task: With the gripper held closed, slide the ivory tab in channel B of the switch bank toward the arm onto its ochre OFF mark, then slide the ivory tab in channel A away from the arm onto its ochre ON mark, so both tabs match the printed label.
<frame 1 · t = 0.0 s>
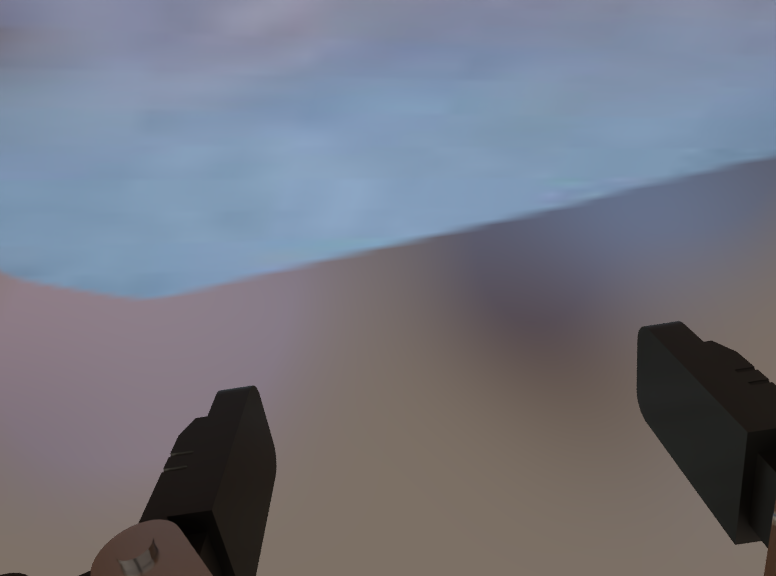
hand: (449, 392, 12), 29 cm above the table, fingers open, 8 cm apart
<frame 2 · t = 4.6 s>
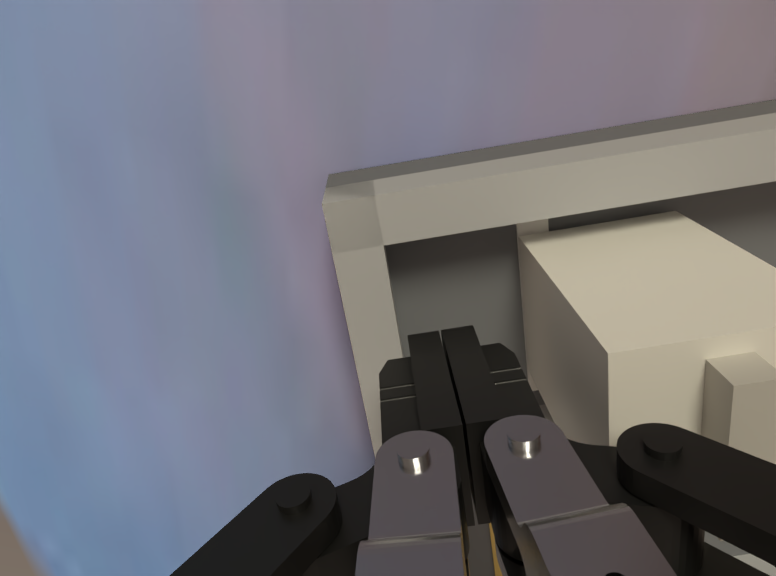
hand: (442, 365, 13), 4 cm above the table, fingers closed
switch bank: (686, 368, 19), on the table
tab B: (655, 358, 13), point 5 cm above the table, slide at 1.6 cm, touching gripper
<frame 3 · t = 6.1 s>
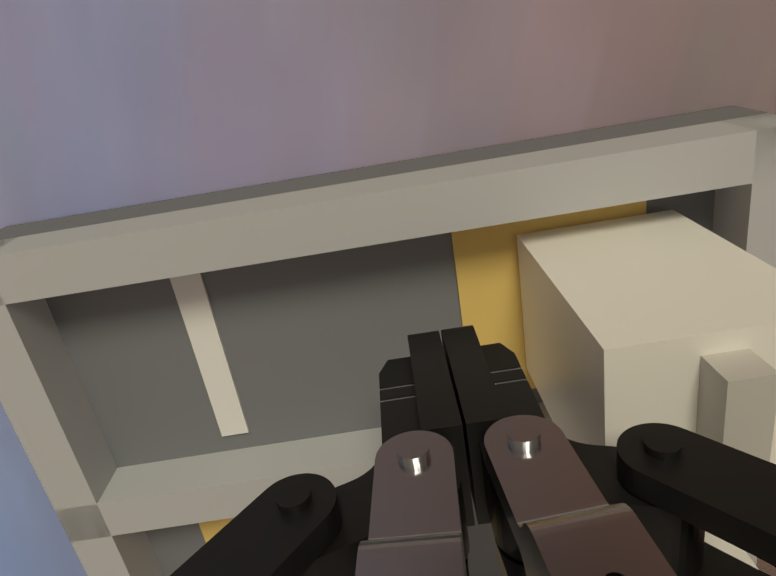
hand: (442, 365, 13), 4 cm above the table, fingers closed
switch bank: (405, 410, 19), on the table
tab B: (652, 356, 13), point 5 cm above the table, slide at 10.6 cm, touching gripper
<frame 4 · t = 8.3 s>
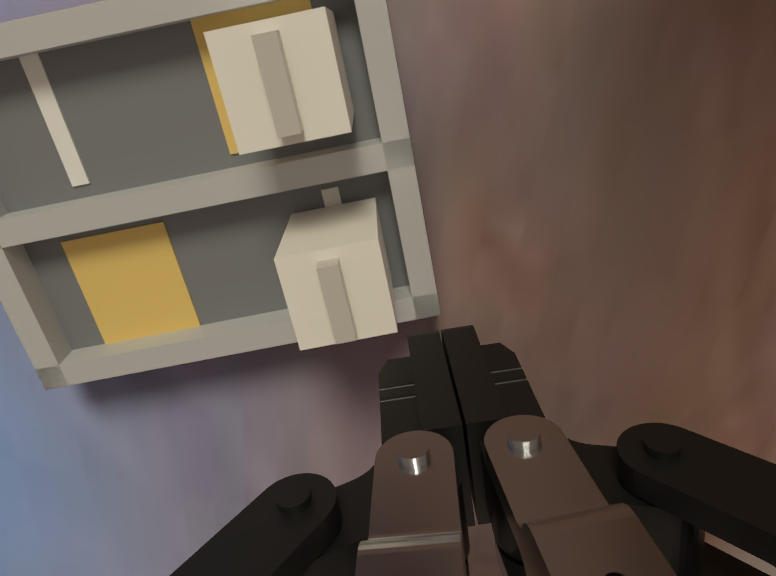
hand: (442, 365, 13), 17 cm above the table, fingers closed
switch bank: (204, 180, 29), on the table
tab B: (289, 78, 22), point 5 cm above the table, slide at 10.9 cm
tab A: (340, 271, 25), point 5 cm above the table, slide at 0.0 cm
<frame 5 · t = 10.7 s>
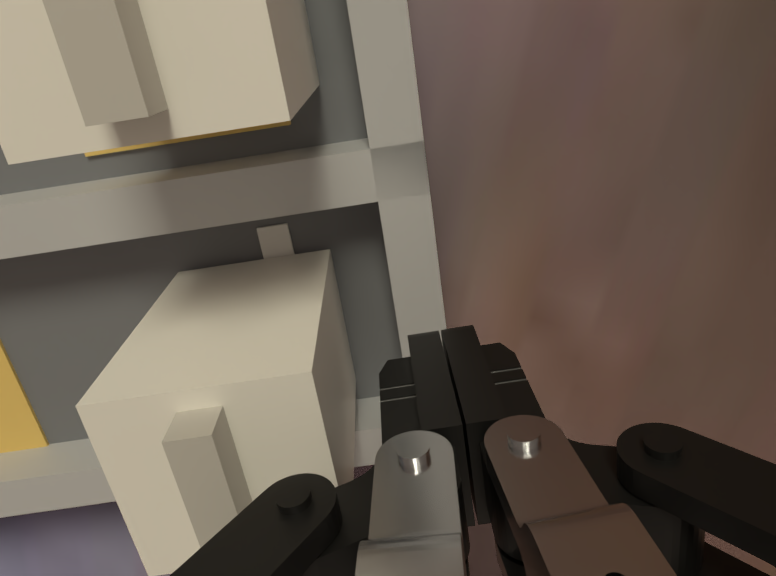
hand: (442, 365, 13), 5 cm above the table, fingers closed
switch bank: (54, 200, 16), on the table
tab A: (249, 399, 13), point 5 cm above the table, slide at 0.6 cm, touching gripper
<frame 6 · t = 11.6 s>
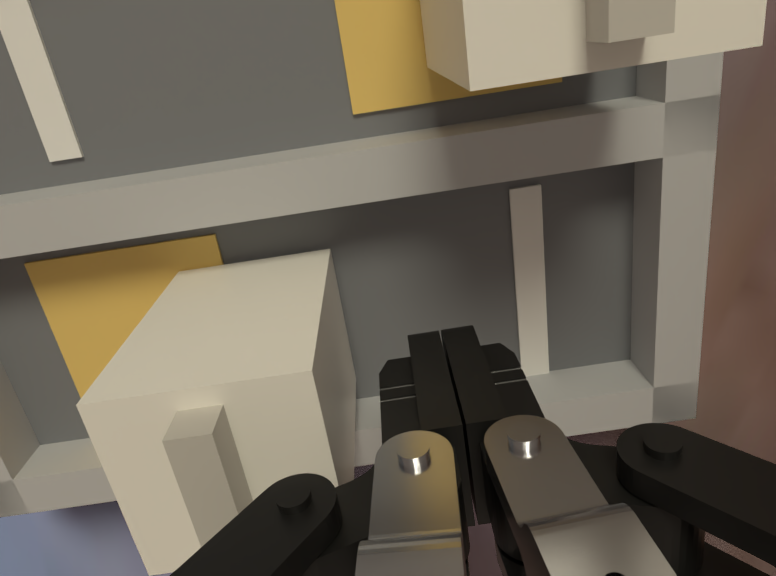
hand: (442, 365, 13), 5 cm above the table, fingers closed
switch bank: (288, 163, 16), on the table
tab A: (249, 398, 13), point 5 cm above the table, slide at 7.2 cm, touching gripper
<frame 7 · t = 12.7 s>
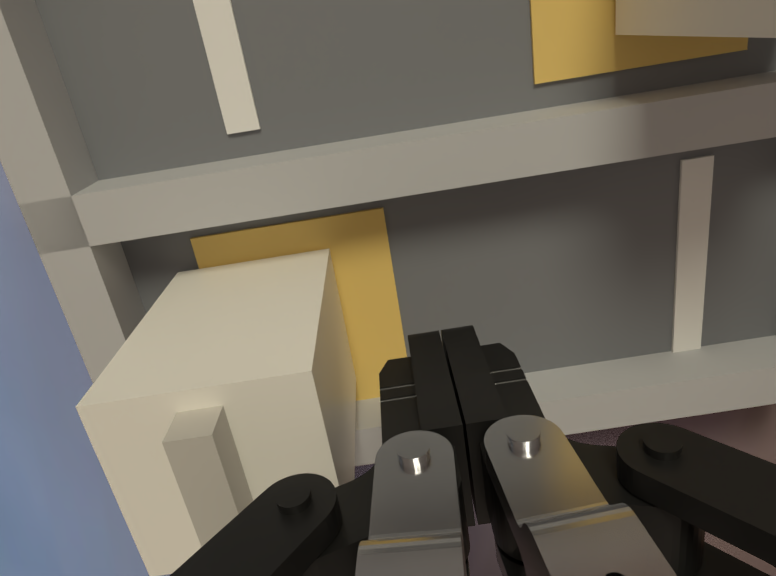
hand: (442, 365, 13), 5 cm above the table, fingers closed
switch bank: (447, 137, 16), on the table
tab A: (249, 399, 13), point 5 cm above the table, slide at 11.5 cm, touching gripper
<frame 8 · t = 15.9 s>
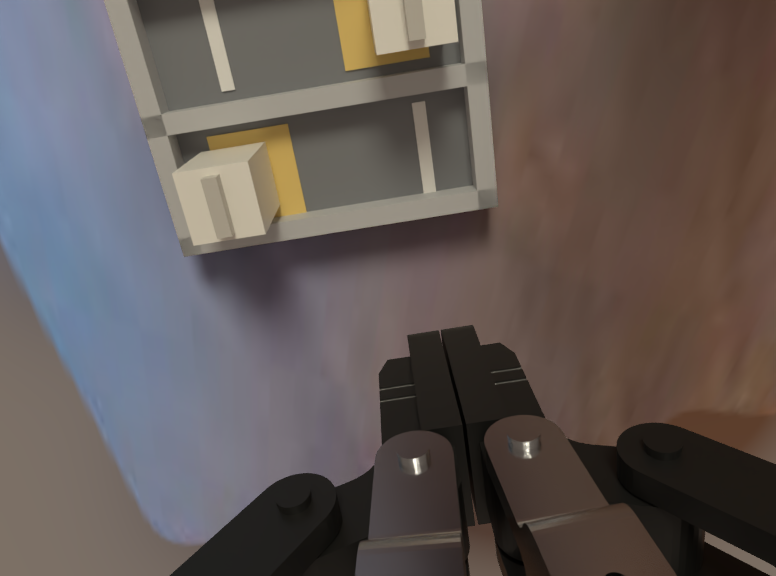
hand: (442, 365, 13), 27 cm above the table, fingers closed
switch bank: (317, 95, 37), on the table
tab B: (408, 5, 30), point 5 cm above the table, slide at 10.9 cm
tab A: (230, 192, 34), point 5 cm above the table, slide at 11.5 cm
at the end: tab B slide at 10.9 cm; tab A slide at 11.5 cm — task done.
